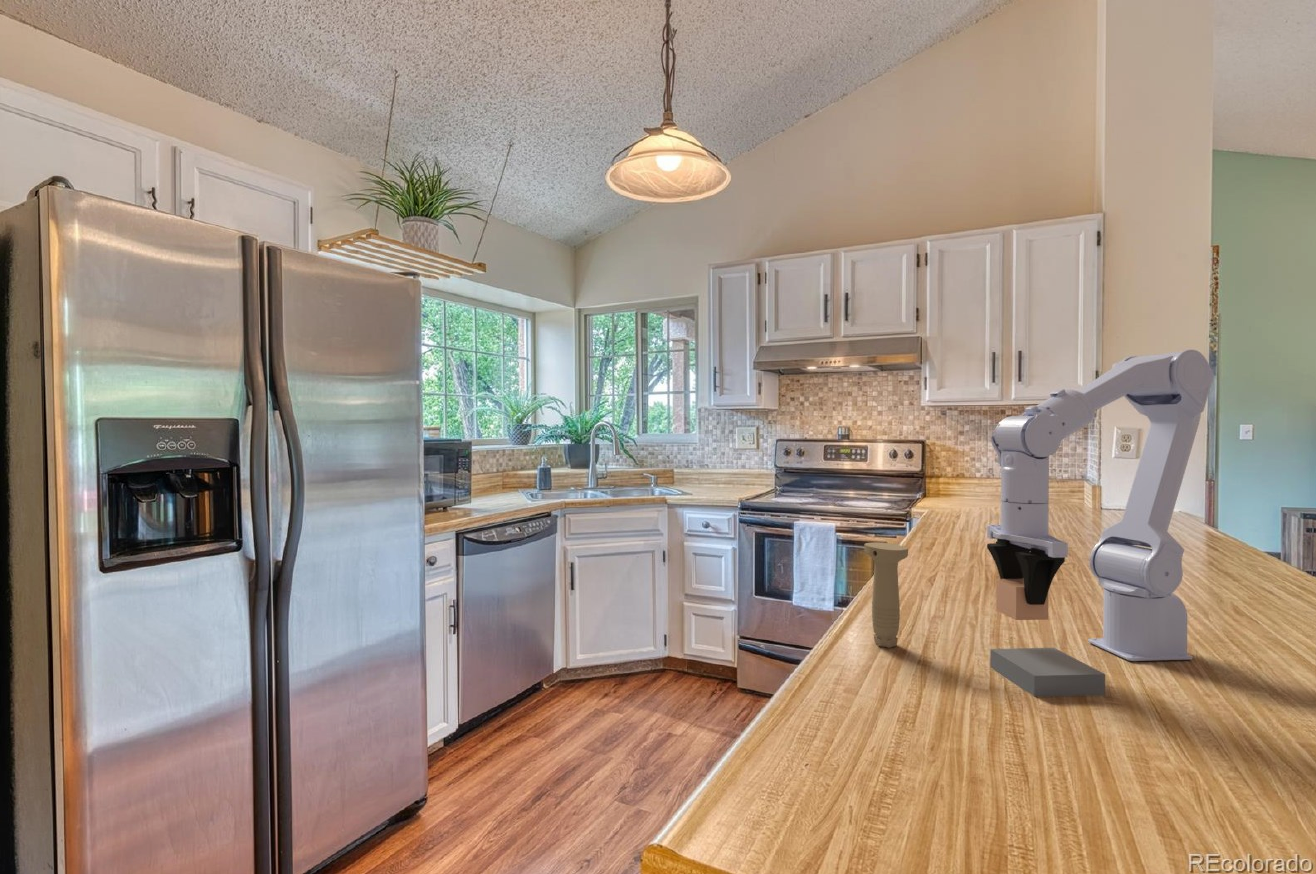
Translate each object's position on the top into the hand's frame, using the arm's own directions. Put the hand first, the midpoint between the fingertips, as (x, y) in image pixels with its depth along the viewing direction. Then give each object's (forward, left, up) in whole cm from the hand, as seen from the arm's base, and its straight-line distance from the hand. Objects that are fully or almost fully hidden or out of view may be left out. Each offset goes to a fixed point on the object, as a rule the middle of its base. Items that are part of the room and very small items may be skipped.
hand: (1023, 598), depth 85 cm
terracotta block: (0, 0, -2) cm, 2 cm away
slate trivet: (+1, +6, -9) cm, 11 cm away
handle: (+16, -8, -9) cm, 20 cm away
